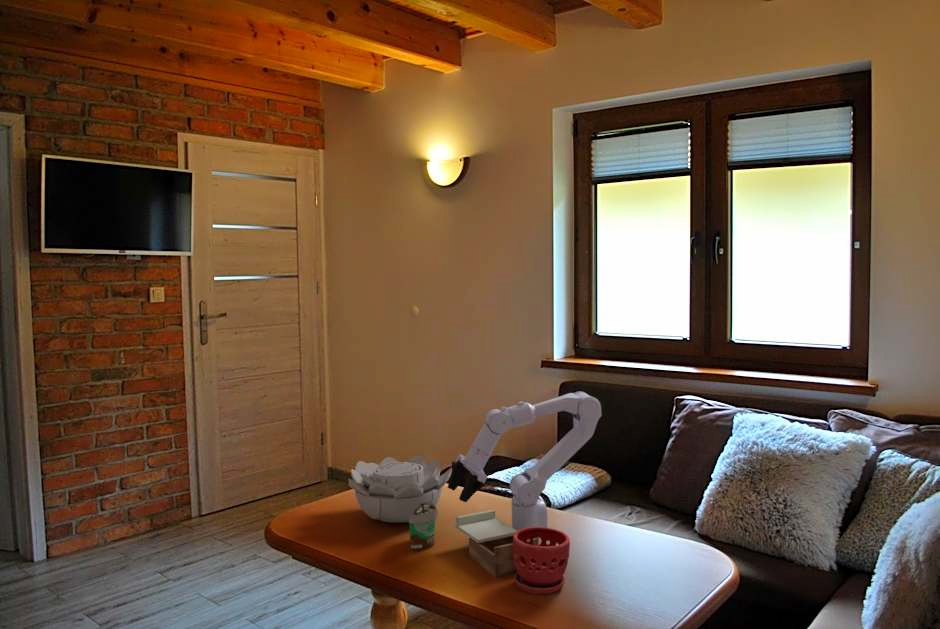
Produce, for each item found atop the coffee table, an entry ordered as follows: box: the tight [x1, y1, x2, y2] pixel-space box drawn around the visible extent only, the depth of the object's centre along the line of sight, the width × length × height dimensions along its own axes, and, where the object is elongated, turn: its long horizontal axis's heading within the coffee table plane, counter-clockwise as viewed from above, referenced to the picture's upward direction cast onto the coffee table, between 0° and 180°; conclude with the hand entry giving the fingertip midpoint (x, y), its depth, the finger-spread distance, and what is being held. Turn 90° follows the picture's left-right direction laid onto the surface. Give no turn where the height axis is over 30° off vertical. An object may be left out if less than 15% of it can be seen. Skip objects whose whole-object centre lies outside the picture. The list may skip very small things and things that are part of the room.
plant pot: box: [513, 527, 571, 595], centre depth 172 cm, size 13×13×12 cm
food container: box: [408, 501, 439, 552], centre depth 198 cm, size 12×6×10 cm, turn 168°
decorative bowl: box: [348, 454, 452, 524], centre depth 219 cm, size 30×30×15 cm
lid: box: [454, 509, 517, 543], centre depth 193 cm, size 12×13×3 cm
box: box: [468, 536, 539, 578], centre depth 186 cm, size 12×14×7 cm
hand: (456, 494), depth 201 cm, fingers open, 7 cm apart
